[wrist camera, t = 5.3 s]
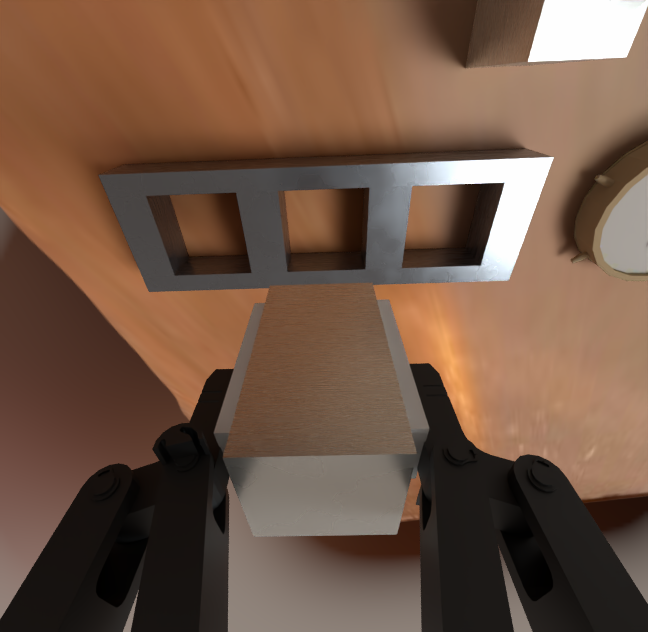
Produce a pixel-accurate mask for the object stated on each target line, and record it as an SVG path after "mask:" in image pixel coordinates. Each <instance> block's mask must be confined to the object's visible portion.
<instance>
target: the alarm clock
mask: <svg viewBox="0 0 648 632" xmlns="http://www.w3.org/2000/svg"><path fill="white" fill-rule="evenodd" d="M595 180H596V183H595V184H594V185H593V187H592V188H591V189H590V191H589V192H588V193H587V195H586V196H585V198H584V200H583V202H582V204H581V207H580V209H579V211H578V213H577V216H576V219H575V228H574V238H575V241H576V244H577V247H578V250H579V251H580V252H581V254H579V255H577V256H575V257H574V258H572V259H571V261H572V263H576V262H579V261H582V260H584V259H586V258H588V259H589V260H590V261H592V262H594V263H595V264H596V265H598V266H599V267H600V268H601V269H602V270H603V271H605V272H606V273H607V274H608V275H609V276H612V277H616V278H619V279H622V280H625V281H648V141H646V142H644V143H642V144H641V145H639V146H637V147H636V148H634V149H632V150H631V151H629V152H627V153H626V154H624V155H623V156H622V157H621V158H620V159H619V160H617V161H616V162H615V163H614V164H613V165H612V166H611V167H610V168H609V169H607V170H606V171H605V172H604V173H603V174H602V175H597V176H596V177H595Z"/></svg>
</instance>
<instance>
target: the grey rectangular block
mask: <svg viewBox="0 0 648 632" xmlns="http://www.w3.org/2000/svg"><path fill="white" fill-rule="evenodd" d="M416 456H417V452H416V448H415V444H414V440H413V436H412V432H411V429H410V425H409V421H408V417H407V413H406V410H405V406H404V402H403V398H402V394H401V390H400V387H399V383H398V379H397V375H396V371H395V367H394V364H393V360H392V356H391V352H390V348H389V345H388V341H387V337H386V333H385V329H384V325H383V322H382V318H381V314H380V310H379V306H378V303H377V299H376V295H375V291H374V287H373V283H343V284H308V285H274V286H270V287H269V291H268V295H267V298H266V302H265V305H264V309H263V313H262V316H261V320H260V324H259V327H258V331H257V334H256V338H255V342H254V345H253V349H252V353H251V356H250V360H249V363H248V367H247V371H246V374H245V378H244V382H243V385H242V389H241V393H240V396H239V400H238V403H237V407H236V411H235V414H234V418H233V422H232V425H231V429H230V432H229V436H228V440H227V443H226V447H225V451H224V454H223V460H224V463H225V465H226V468H227V470H228V473H229V475H230V478H231V480H232V483H233V485H234V488H235V491H236V493H237V496H238V498H239V501H240V503H241V506H242V508H243V511H244V513H245V516H246V518H247V521H248V523H249V526H250V528H251V531H252V533H253V536H254V537H260V536H261V537H263V536H318V535H319V536H324V535H385V534H397V532H398V528H399V523H400V520H401V516H402V512H403V508H404V504H405V500H406V496H407V492H408V488H409V484H410V480H411V476H412V472H413V468H414V464H415V460H416Z"/></svg>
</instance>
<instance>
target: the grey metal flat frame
mask: <svg viewBox="0 0 648 632" xmlns="http://www.w3.org/2000/svg"><path fill="white" fill-rule="evenodd" d="M552 160H553V157H551V156H548V155H545V154H542V153H539V152H535V151H532V150H529V149H503V150H478V151H453V152H427V153H402V154H377V155H351V156H326V157H301V158H276V159H250V160H225V161H200V162H174V163H149V164H124V165H122V166H119V167H117V168H114V169H112V170H109V171H107V172H104V173H102V174H99V178H100V180H101V182H102V185H103V187H104V189H105V192H106V194H107V196H108V198H109V201H110V203H111V205H112V208H113V210H114V212H115V215H116V217H117V219H118V222H119V224H120V226H121V228H122V231H123V233H124V235H125V238H126V240H127V242H128V245H129V247H130V249H131V252H132V254H133V256H134V258H135V261H136V263H137V265H138V268H139V270H140V272H141V275H142V277H143V279H144V282H145V284H146V286H147V288H148V291H149V292H159V291H191V290H222V289H254V288H269V287H270V286H274V285H308V284H343V283H373V285H380V284H411V283H443V282H474V281H506V280H509V278H510V276H511V273H512V270H513V267H514V265H515V262H516V259H517V256H518V254H519V251H520V248H521V245H522V243H523V240H524V237H525V234H526V232H527V229H528V226H529V223H530V220H531V218H532V215H533V212H534V209H535V207H536V204H537V201H538V198H539V196H540V193H541V190H542V187H543V185H544V182H545V179H546V176H547V174H548V171H549V168H550V165H551V163H552ZM476 183H481V187H480V191H479V195H478V199H477V203H476V207H475V211H474V215H473V219H472V223H471V227H470V231H469V235H468V239H467V243H466V247H465V248H445V249H415V250H404V246H405V238H406V231H407V223H408V215H409V207H410V199H411V191H412V186H423V185H449V184H476ZM343 188H364V195H363V221H362V247H361V251H356V252H327V253H297V254H291V250H290V240H289V231H288V222H287V212H286V203H285V193H284V191H289V190H316V189H343ZM210 193H236V195H237V200H238V205H239V211H240V216H241V221H242V226H243V231H244V236H245V241H246V246H247V252H248V255H238V256H208V257H189V255H188V252H187V249H186V246H185V243H184V240H183V237H182V233H181V230H180V227H179V224H178V221H177V218H176V215H175V211H174V208H173V205H172V202H171V199H170V196H169V195H183V194H210Z"/></svg>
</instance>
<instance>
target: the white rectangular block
mask: <svg viewBox="0 0 648 632" xmlns="http://www.w3.org/2000/svg"><path fill="white" fill-rule="evenodd" d="M647 6H648V0H478V1H477V7H476V12H475V18H474V23H473V29H472V34H471V40H470V45H469V50H468V56H467V61H466V67H465V68H485V67H507V66H530V65H543V64H554V63H565V62H577V61H588V60H600V59H611V58H622V57H627V54H628V52H629V49H630V47H631V45H632V42H633V40H634V37H635V35H636V33H637V30H638V28H639V25H640V23H641V21H642V18H643V16H644V13H645V11H646V9H647Z"/></svg>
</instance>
